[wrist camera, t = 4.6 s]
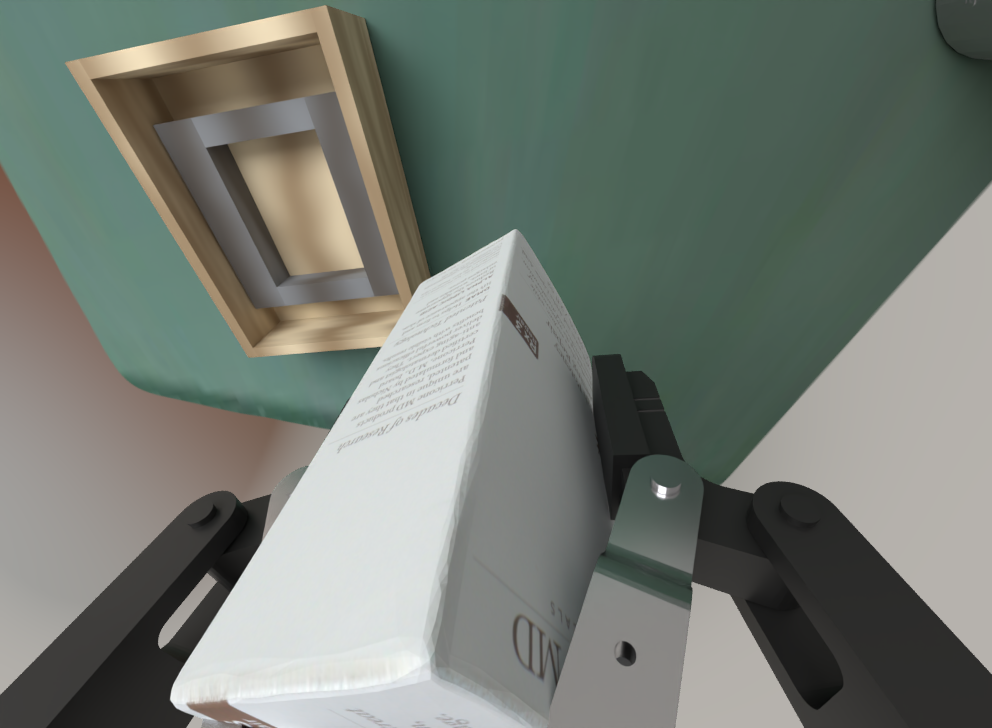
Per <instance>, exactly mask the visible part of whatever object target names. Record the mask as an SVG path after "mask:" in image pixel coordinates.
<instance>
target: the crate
mask: <svg viewBox="0 0 992 728" xmlns="http://www.w3.org/2000/svg"><path fill="white" fill-rule="evenodd" d="M65 63H66V65H67V67H68V68H69V70H70V71H71V73H72V75H73V76H74V78H75V80H76V81H77V83H78V84H79V86H80V88H81V89H82V91H83V92H84V94H85V96H86V97H87V99H88V100H89V102H90V104H91V105H92V107H93V108H94V110H95V112H96V113H97V115H98V116H99V118H100V120H101V121H102V123H103V124H104V126H105V128H106V129H107V131H108V133H109V134H110V136H111V137H112V139H113V141H114V142H115V144H116V145H117V147H118V149H119V150H120V152H121V153H122V155H123V157H124V158H125V160H126V161H127V163H128V165H129V166H130V168H131V169H132V171H133V173H134V174H135V176H136V177H137V179H138V181H139V182H140V184H141V186H142V187H143V189H144V190H145V192H146V194H147V195H148V197H149V198H150V200H151V202H152V203H153V205H154V206H155V208H156V210H157V211H158V213H159V214H160V216H161V218H162V219H163V221H164V222H165V224H166V226H167V227H168V229H169V231H170V232H171V234H172V235H173V237H174V239H175V240H176V242H177V243H178V245H179V247H180V248H181V250H182V251H183V253H184V255H185V256H186V258H187V259H188V261H189V263H190V264H191V266H192V267H193V269H194V271H195V272H196V274H197V275H198V277H199V279H200V280H201V282H202V284H203V285H204V287H205V288H206V290H207V292H208V293H209V295H210V296H211V298H212V300H213V301H214V303H215V304H216V306H217V308H218V309H219V311H220V312H221V314H222V316H223V317H224V319H225V320H226V322H227V324H228V325H229V327H230V328H231V330H232V332H233V333H234V335H235V337H236V338H237V340H238V341H239V343H240V345H241V346H242V348H243V349H244V351H245V353H246V354H247V356H248V357H249V358H250V357H262V356H274V355H286V354H298V353H310V352H322V351H334V350H346V349H358V348H371V347H382V346H383V344H384V343H385V341H386V339H387V338H388V336H389V334H390V333H391V331H392V330H393V328H394V327H395V325H396V323H397V322H398V320H399V318H400V317H401V315H402V313H403V312H404V310H405V308H406V307H407V305H408V304H409V302H410V300H411V298H412V297H413V295H414V293H415V292H416V290H417V288H418V287H419V285H420V284H421V283H422V282H424V281H426V280H427V279H429V278H431V276H430V272H429V268H428V264H427V260H426V256H425V253H424V249H423V245H422V241H421V237H420V233H419V229H418V225H417V221H416V217H415V213H414V210H413V206H412V202H411V198H410V194H409V190H408V186H407V182H406V178H405V174H404V170H403V167H402V163H401V159H400V155H399V151H398V147H397V143H396V139H395V135H394V131H393V127H392V124H391V120H390V116H389V112H388V108H387V104H386V100H385V96H384V92H383V88H382V84H381V81H380V77H379V73H378V69H377V65H376V61H375V57H374V53H373V49H372V45H371V41H370V38H369V34H368V30H367V26H366V22H365V18H362V17H359V16H356V15H353V14H350V13H347V12H344V11H342V10H339V9H336V8H333V7H330V6H327V5H325V6H321V7H316V8H312V9H307V10H302V11H298V12H293V13H289V14H284V15H280V16H275V17H270V18H266V19H261V20H257V21H252V22H248V23H243V24H238V25H234V26H229V27H225V28H220V29H216V30H211V31H206V32H202V33H197V34H193V35H188V36H184V37H179V38H174V39H170V40H165V41H161V42H156V43H152V44H147V45H142V46H138V47H133V48H129V49H124V50H120V51H115V52H110V53H106V54H101V55H97V56H92V57H88V58H83V59H78V60H74V61H69V62H65Z"/></svg>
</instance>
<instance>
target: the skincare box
mask: <svg viewBox="0 0 992 728" xmlns="http://www.w3.org/2000/svg"><path fill="white" fill-rule="evenodd" d="M614 522H615V520H611V519H610V513H609V507H608V501H607V495H606V489H605V483H604V476H603V470H602V464H601V458H600V451H599V445H598V439H597V433H596V427H595V421H594V413H593V399H592V369H591V364H590V359H589V356H588V353H587V350H586V348H585V346H584V344H583V341H582V339H581V337H580V335H579V333H578V331H577V329H576V327H575V325H574V323H573V321H572V319H571V317H570V315H569V313H568V311H567V309H566V307H565V305H564V304H563V302H562V300H561V298H560V296H559V295H558V293H557V291H556V289H555V288H554V286H553V284H552V282H551V281H550V279H549V277H548V275H547V274H546V272H545V270H544V269H543V267H542V265H541V264H540V262H539V260H538V259H537V257H536V255H535V254H534V252H533V250H532V249H531V247H530V246H529V244H528V243H527V241H526V240H525V238H524V237H523V235H522V234H521V233H520V232H519V231H518V230H517V229H514V230H513V231H511V232H510V233H508V234H506V235H505V236H503V237H501V238H499V239H498V240H496V241H494V242H492V243H490V244H488V245H487V246H485V247H483V248H481V249H480V250H478V251H477V252H475V253H473V254H472V255H470V256H468V257H466V258H465V259H463V260H461V261H459V262H458V263H456V264H454V265H452V266H451V267H449V268H447V269H446V270H444V271H442V272H440V273H438V274H437V275H435V276H433V277H431V278H429V279H427V280H426V281H424V282H422V283H421V284H420V285H419V287H418V288H417V290H416V292H415V293H414V295H413V297H412V298H411V300H410V302H409V304H408V305H407V307H406V308H405V310H404V312H403V313H402V315H401V317H400V318H399V320H398V322H397V323H396V325H395V327H394V328H393V330H392V331H391V333H390V334H389V336H388V338H387V339H386V341H385V343H384V344H383V346H382V347H381V349H380V351H379V352H378V354H377V355H376V357H375V358H374V360H373V362H372V363H371V365H370V367H369V368H368V370H367V372H366V373H365V375H364V377H363V378H362V380H361V382H360V383H359V385H358V387H357V388H356V390H355V392H354V393H353V395H352V396H351V398H350V400H349V401H348V403H347V405H346V406H345V408H344V409H343V411H342V413H341V414H340V416H339V418H338V419H337V421H336V423H335V424H334V426H333V427H332V429H331V431H330V432H329V434H328V436H327V437H326V439H325V440H324V442H323V444H322V446H321V447H320V449H319V450H318V452H317V454H316V455H315V457H314V459H313V460H312V462H311V464H310V465H309V467H308V468H307V470H306V472H305V473H304V475H303V476H302V478H301V480H300V481H299V483H298V485H297V486H296V488H295V490H294V491H293V493H292V494H291V496H290V498H289V499H288V501H287V502H286V504H285V506H284V507H283V509H282V511H281V512H280V514H279V515H278V517H277V519H276V520H275V522H274V523H273V525H272V527H271V528H270V530H269V532H268V533H267V535H266V536H265V538H264V540H263V541H262V543H261V544H260V546H259V548H258V549H257V551H256V553H255V554H254V556H253V557H252V559H251V561H250V562H249V564H248V566H247V567H246V569H245V570H244V572H243V574H242V575H241V577H240V578H239V580H238V582H237V583H236V585H235V586H234V588H233V589H232V591H231V593H230V594H229V596H228V597H227V599H226V600H225V602H224V604H223V605H222V607H221V608H220V610H219V612H218V613H217V615H216V616H215V618H214V619H213V621H212V623H211V624H210V626H209V627H208V629H207V630H206V632H205V634H204V635H203V637H202V638H201V640H200V641H199V643H198V645H197V646H196V648H195V649H194V651H193V652H192V654H191V655H190V657H189V658H188V660H187V662H186V663H185V665H184V666H183V668H182V669H181V671H180V673H179V675H178V677H177V679H176V680H175V682H174V684H173V687H172V690H171V697H170V700H171V702H172V703H173V704H174V706H175V707H176V708H177V709H179V710H181V711H183V712H186V713H188V714H191V715H194V716H197V717H199V718H202V719H209V720H216V721H223V722H229V723H236V724H242V725H244V726H245V727H247V728H259V727H266V728H547V725H548V723H549V709H550V706H551V703H552V700H553V697H554V693H555V690H556V687H557V684H558V681H559V678H560V675H561V672H562V668H563V665H564V662H565V659H566V656H567V653H568V650H569V647H570V644H571V640H572V637H573V634H574V631H575V628H576V625H577V622H578V619H579V615H580V612H581V609H582V606H583V603H584V600H585V597H586V594H587V591H588V587H589V584H590V581H591V578H592V575H593V572H594V569H595V566H596V563H597V561H598V558H599V556H600V554H601V553H602V552H603V553H604V552H605V550H606V547H607V544H608V541H609V538H610V535H611V531H612V528H613V525H614Z"/></svg>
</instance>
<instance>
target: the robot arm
mask: <svg viewBox="0 0 992 728" xmlns="http://www.w3.org/2000/svg"><path fill="white" fill-rule="evenodd" d="M936 12H937V19H938V26H939V28H940V30H941V32H942V34H943V36H944V39H945V41H946V42H947V43H948V44H949V45H950V46H951V47H952V48H953V49H955V50H956V51H957V52H958V53H960V54H963V55H965V56H968V57H970V58H973V59H986V60H992V0H936ZM350 398H351V397H350ZM350 398H349V399H348V401H349V400H350ZM592 399H593V413H594V421H595V427H596V433H597V439H598V445H599V451H600V458H601V464H602V470H603V476H604V483H605V489H606V495H607V501H608V507H609V513H610V519H611V520H615V522H614V525H613V528H612V531H611V535H610V538H609V541H608V544H607V547H606V550H605V552H604V553H603V552H602V553H601V554H600V556H599V558H598V561H597V563H596V566H595V569H594V572H593V575H592V578H591V581H590V584H589V587H588V591H587V594H586V597H585V600H584V603H583V606H582V609H581V612H580V615H579V619H578V622H577V625H576V628H575V631H574V634H573V637H572V640H571V644H570V647H569V650H568V653H567V656H566V659H565V662H564V665H563V668H562V672H561V675H560V678H559V681H558V684H557V687H556V690H555V693H554V697H553V700H552V703H551V706H550V709H549V723H548V725H547V728H675V725H676V717H677V709H678V702H679V694H680V686H681V679H682V671H683V664H684V656H685V649H686V641H687V633H688V626H689V618H690V610H691V601H692V587H691V582H695V583H698V584H701V585H704V586H707V587H710V588H713V589H715V590H718V591H721V592H725V593H728V594H730V595H731V597H732V599H733V600H734V602H735V604H736V606H737V607H738V609H739V611H740V613H741V615H742V617H743V619H744V620H745V622H746V624H747V626H748V628H749V629H750V631H751V633H752V635H753V636H754V638H755V640H756V642H757V644H758V645H759V647H760V649H761V651H762V653H763V654H764V656H765V658H766V660H767V662H768V663H769V665H770V667H771V669H772V671H773V672H774V674H775V676H776V678H777V679H778V681H779V683H780V685H781V687H782V688H783V690H784V692H785V694H786V696H787V697H788V699H789V701H790V703H791V704H792V706H793V708H794V710H795V712H796V713H797V715H798V717H799V719H800V721H801V723H802V724H803V726H804V728H992V674H991V673H990V672H989V671H988V670H987V669H986V668H985V667H984V666H983V665H982V663H981V662H980V661H979V660H978V659H977V658H976V657H975V656H974V655H973V654H972V653H971V652H970V651H969V650H968V648H967V647H966V646H965V645H964V644H963V643H962V642H961V641H960V640H959V639H958V638H957V637H956V636H955V634H954V633H953V632H952V631H951V630H950V629H949V628H948V627H947V626H946V625H945V624H944V623H943V622H942V620H940V618H939V617H938V616H937V615H936V614H935V613H934V612H933V611H932V610H931V609H930V607H929V606H927V604H926V603H925V602H924V601H923V600H922V599H921V598H920V597H919V596H918V595H917V593H915V591H914V590H913V589H912V588H911V587H910V586H909V585H908V584H907V583H906V582H905V581H904V579H903V578H902V577H901V576H900V575H899V574H898V573H897V572H896V571H895V570H894V569H893V568H892V567H891V566H890V564H889V563H888V562H887V561H886V560H885V559H884V558H883V557H882V556H881V555H880V554H879V553H878V551H876V549H875V548H874V547H873V546H872V545H871V544H870V543H869V542H868V541H867V540H866V539H865V538H864V536H863V535H862V534H861V533H860V532H859V531H858V530H857V529H856V528H855V527H854V526H853V525H852V523H850V521H849V520H848V519H847V518H846V517H845V516H844V515H843V514H842V513H841V512H840V511H839V510H838V508H837V507H836V506H835V505H834V504H833V503H831V502H830V501H829V500H828V499H826V498H825V497H824V496H822V495H821V494H819V493H818V492H816V491H814V490H812V489H810V488H807V487H805V486H802V485H799V484H795V483H791V482H779V481H778V482H770V483H766V484H764V485H762V486H761V487H759V488H758V489H757V490H756V492H755V493H754V494H753V493H748V492H744V491H740V490H736V489H731V488H727V487H723V486H720V485H716V484H714V483H712V482H709V481H707V480H705V479H703V478H702V477H700V476H699V474H698V473H697V472H696V471H695V469H694V468H692V467H691V466H690V465H689V464H687V463H686V462H685V461H684V459H683V457H682V455H681V452H680V450H679V447H678V444H677V442H676V439H675V436H674V434H673V431H672V429H671V426H670V423H669V421H668V418H667V415H666V413H665V412H664V407H663V405H662V402H661V400H660V397H659V394H658V391H657V389H656V386H655V383H654V382H653V381H652V380H651V379H650V378H649V377H648V376H647V375H645V374H644V373H643V372H642V371H632V372H626V371H625V368H624V364H623V361H622V358H621V355H620V354H612V355H598V356H593V358H592ZM348 401H347V402H346V404H345V406H346V405H347V403H348ZM345 406H344V407H343V409H344V408H345ZM343 409H342V411H343ZM342 411H341V413H342ZM339 416H340V415H339ZM339 416H338V418H339ZM338 418H337V419H338ZM337 419H336V421H337ZM336 421H335V423H336ZM335 423H334V424H335ZM332 427H333V426H332ZM331 429H332V428H331ZM330 431H331V430H330ZM328 434H329V433H328ZM327 436H328V435H327ZM308 467H309V466H305V467H302V468H300V469H297V470H295V471H294V472H292V473H290V474H289V475H287V476H286V477H285V478H284V479H282V481H280V482H279V483H278V485H277V486H276V487H275V489H274V490H273V492H272V494H270V495H267V496H263V497H260V498H256V499H253V500H250V501H247V502H243V503H241V502H240V501H239V500H238V499H237V498H236V496H235V495H234V494H232V493H231V492H228V491H218V492H213V493H210V494H208V495H206V496H203V497H201V498H200V499H198V500H196V501H195V502H193V503H192V504H190V505H189V506H188V507H187V508H186V509H184V511H182V512H181V513H180V514H179V515H178V516H177V517H176V518H175V519H174V520H173V521H172V522H171V523H170V524H169V525H168V526H167V527H166V528H165V529H164V530H163V532H162V533H161V534H159V535H158V537H157V538H156V539H155V540H154V541H153V542H152V543H151V544H150V545H149V546H148V547H147V548H146V549H145V550H144V551H143V552H142V553H141V554H140V555H139V556H138V557H137V558H136V559H135V560H134V561H133V562H132V563H131V564H130V565H129V566H128V567H127V568H126V569H125V570H124V571H123V572H122V573H121V574H120V575H119V576H118V577H117V578H116V579H115V580H114V581H113V582H112V583H111V584H110V585H109V586H108V587H107V588H106V589H105V590H104V591H103V592H102V593H101V594H100V595H99V596H98V597H97V598H96V599H95V600H94V601H93V602H92V603H91V604H90V605H89V606H88V607H87V608H86V609H85V610H84V611H83V612H82V613H81V614H80V615H79V616H78V617H77V618H76V619H75V620H74V621H73V622H72V623H71V624H70V625H69V627H67V628H66V629H65V630H64V631H63V632H62V634H60V635H59V636H58V637H57V639H55V640H54V641H53V643H52V644H51V645H50V646H49V647H48V648H46V649H45V651H43V653H42V654H41V655H40V656H39V657H38V658H37V659H36V660H35V661H34V662H33V663H32V664H31V665H30V666H29V667H28V668H27V669H26V670H25V671H24V672H23V673H22V674H21V675H20V676H19V677H18V678H17V679H16V680H15V681H14V682H13V683H12V684H11V685H10V686H9V687H8V688H7V689H6V690H5V691H4V692H3V693H2V694H1V695H0V728H186V727H187V726H188V724H189V722H190V721H191V719H192V718H193V717H194V715H191V714H188V713H186V712H183V711H181V710H179V709H177V708H176V707H175V706H174V704H173V703H172V702H171V700H170V697H171V690H172V687H173V684H174V682H175V680H176V679H177V677H178V675H179V673H180V671H181V669H182V668H183V666H184V665H185V663H186V662H187V660H188V658H189V657H190V655H191V654H192V652H193V651H194V649H195V648H196V646H197V645H198V643H199V641H200V640H201V638H202V637H203V635H204V634H205V632H206V630H207V629H208V627H209V626H210V624H211V623H212V621H213V619H214V618H215V616H216V615H217V613H218V612H219V610H220V608H221V607H222V605H223V604H224V602H225V600H226V599H227V597H228V596H229V594H230V593H231V591H232V589H233V588H234V586H235V585H236V583H237V582H238V580H239V578H240V577H241V575H242V574H243V572H244V570H245V569H246V567H247V566H248V564H249V562H250V561H251V559H252V557H253V556H254V554H255V553H256V551H257V549H258V548H259V546H260V544H261V543H262V541H263V540H264V538H265V536H266V535H267V533H268V532H269V530H270V528H271V527H272V525H273V523H274V522H275V520H276V519H277V517H278V515H279V514H280V512H281V511H282V509H283V507H284V506H285V504H286V502H287V501H288V499H289V498H290V496H291V494H292V493H293V491H294V490H295V488H296V486H297V485H298V483H299V481H300V480H301V478H302V476H303V475H304V473H305V472H306V470H307V468H308ZM206 573H208V574H209V575H210V576H212V577H213V578H214V579H215V580H216V581H217V583H216V584H215V585H214V586H213V588H212V589H211V590H210V591H209V593H208V594H207V595H206V596H205V598H204V599H203V600H202V601H201V603H200V604H199V605H198V607H197V608H196V609H195V610H194V612H193V613H192V614H191V615H190V617H189V618H188V619H187V620H186V622H185V623H184V624H183V625H182V627H181V628H180V629H179V631H178V632H177V633H176V634H175V636H174V637H173V638H172V639H171V640H170V642H169V643H168V644H167V645H165V646H164V647H163V648H161V649H160V648H159V646H158V637H159V634H160V631H161V629H162V628H163V626H164V624H165V623H166V622H167V621H168V619H169V618H170V617H171V616H172V614H173V613H174V612H175V611H176V610H177V608H178V607H179V606H180V605H181V604H182V602H183V601H184V600H185V599H186V598H187V596H188V595H189V594H190V593H191V591H192V590H193V589H194V588H195V587H196V585H197V584H198V583H199V582H200V580H201V579H202V578H203V577H204V576H205V574H206ZM201 728H247V727H245V726H244V725H242V724H236V723H229V722H223V721H216V720H209V719H203V723H202V727H201ZM259 728H266V727H259Z"/></svg>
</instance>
